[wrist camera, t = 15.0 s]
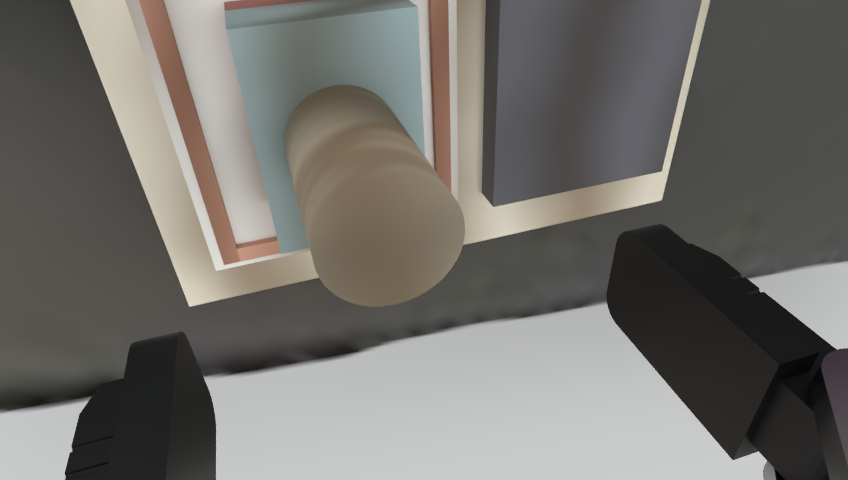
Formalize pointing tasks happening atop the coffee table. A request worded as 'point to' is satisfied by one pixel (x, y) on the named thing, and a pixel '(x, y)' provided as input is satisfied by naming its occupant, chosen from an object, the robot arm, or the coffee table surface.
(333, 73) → the rubber stamp
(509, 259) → the coffee table surface
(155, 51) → the stamping board
